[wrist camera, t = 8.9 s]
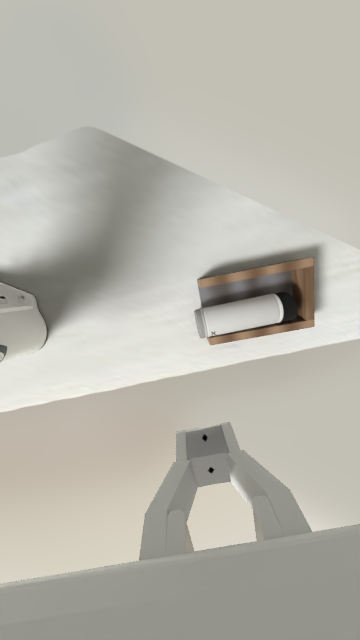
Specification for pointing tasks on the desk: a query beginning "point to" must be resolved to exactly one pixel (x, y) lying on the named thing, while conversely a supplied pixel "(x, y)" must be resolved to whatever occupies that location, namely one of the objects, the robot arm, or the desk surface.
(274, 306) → the travel mug
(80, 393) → the desk surface
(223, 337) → the u rest
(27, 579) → the robot arm
